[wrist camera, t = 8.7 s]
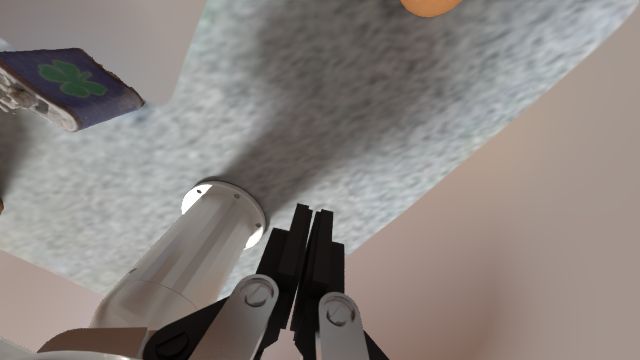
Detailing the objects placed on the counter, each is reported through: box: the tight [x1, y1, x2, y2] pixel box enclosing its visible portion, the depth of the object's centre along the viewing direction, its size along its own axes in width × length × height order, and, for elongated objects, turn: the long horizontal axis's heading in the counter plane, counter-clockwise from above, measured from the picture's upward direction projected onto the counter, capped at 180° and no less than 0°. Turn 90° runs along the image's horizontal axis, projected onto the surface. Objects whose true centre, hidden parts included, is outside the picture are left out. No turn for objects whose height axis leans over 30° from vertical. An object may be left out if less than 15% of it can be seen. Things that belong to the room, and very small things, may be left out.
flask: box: [0, 48, 143, 132], centre depth 27 cm, size 9×3×11 cm, turn 48°
